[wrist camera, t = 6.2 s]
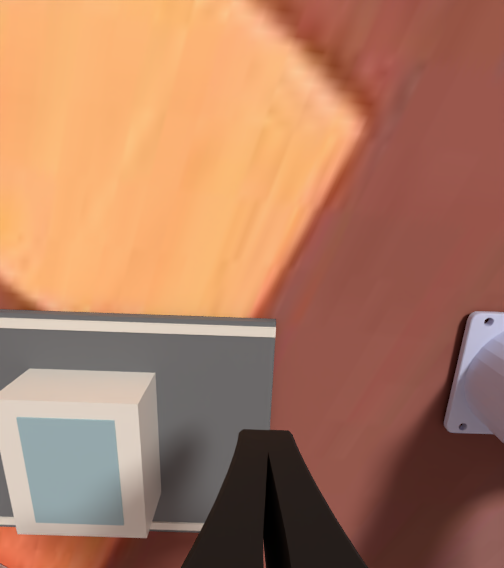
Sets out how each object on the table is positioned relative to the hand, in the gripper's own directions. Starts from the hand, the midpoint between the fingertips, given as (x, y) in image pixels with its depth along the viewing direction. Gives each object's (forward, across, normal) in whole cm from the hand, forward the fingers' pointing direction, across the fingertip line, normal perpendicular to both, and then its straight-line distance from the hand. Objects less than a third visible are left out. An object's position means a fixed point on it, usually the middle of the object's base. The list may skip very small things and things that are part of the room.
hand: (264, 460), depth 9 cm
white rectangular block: (+8, +6, +8) cm, 13 cm away
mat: (+10, +9, +8) cm, 16 cm away
